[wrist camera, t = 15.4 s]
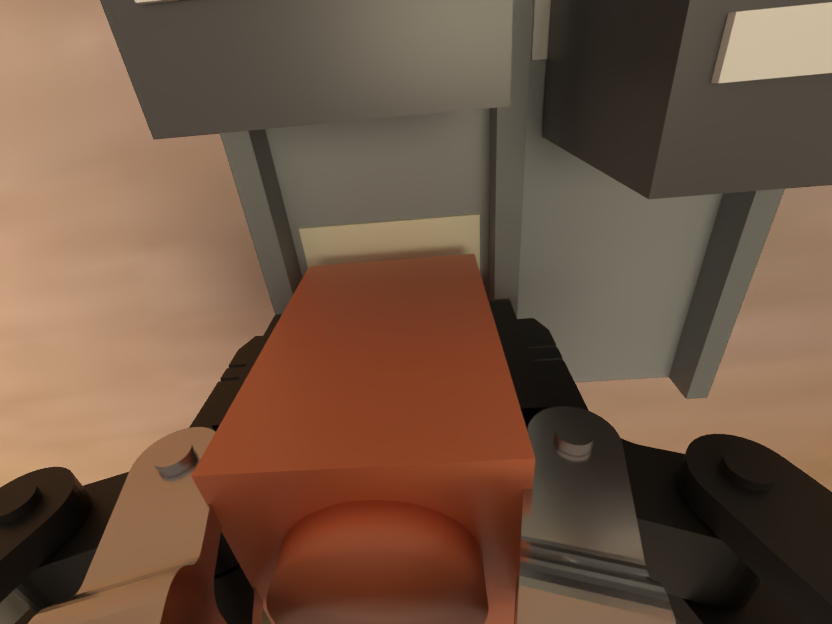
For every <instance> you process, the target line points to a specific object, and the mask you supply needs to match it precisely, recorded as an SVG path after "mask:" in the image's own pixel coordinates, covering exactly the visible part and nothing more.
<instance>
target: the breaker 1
mask: <svg viewBox="0 0 832 624" xmlns="http://www.w3.org/2000/svg"><path fill="white" fill-rule="evenodd" d="M100 1H101V4H102V7H103V9H104V12H105V14H106V17H107V20H108V22H109V25H110V27H111V30H112V33H113V35H114V38H115V40H116V43H117V46H118V48H119V51H120V53H121V56H122V59H123V61H124V64H125V66H126V69H127V72H128V74H129V77H130V79H131V82H132V85H133V87H134V90H135V92H136V95H137V98H138V100H139V103H140V105H141V108H142V111H143V113H144V116H145V118H146V121H147V124H148V126H149V129H150V131H151V134H152V137H153V139H164V138H175V137H186V136H197V135H208V134H218V133H229V132H240V131H251V130H261V129H272V128H283V127H294V126H305V125H315V124H326V123H337V122H348V121H359V120H369V119H380V118H391V117H402V116H412V115H423V114H434V113H445V112H456V111H466V110H477V109H488V108H499V107H509V106H510V89H511V55H512V21H513V0H100Z"/></svg>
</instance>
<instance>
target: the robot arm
mask: <svg viewBox="0 0 832 624" xmlns="http://www.w3.org/2000/svg"><path fill="white" fill-rule="evenodd" d="M488 301H489V304H490V308H491V311H492V314H493V318H494V321H495V325H496V328H497V331H498V335H499V338H500V341H501V345H502V348H503V351H504V355H505V358H506V361H507V365H508V368H509V371H510V375H511V378H512V381H513V385H514V388H515V392H516V395H517V398H518V402H519V405H520V408H521V412H522V415H523V418H524V422H525V425H526V428H527V432H528V435H529V438H530V442H531V445H532V449H533V452H534V455H535V469H534V480H533V489H524V492H523V505H522V519H521V537H520V554H519V571H518V577H517V581H516V594H515V611H514V624H676V622H675V618H674V615H675V616H676V617H677V618H678V620H679V621H680V622H681V624H832V492H831V491H829V490H828V489H827V488H825V487H824V486H823V485H821V484H820V483H818V482H817V481H816V480H814V479H813V478H811V477H810V476H809V475H807V474H806V473H804V472H803V471H802V470H800V469H799V468H797V467H796V466H795V465H793V464H792V463H790V462H789V461H788V460H786V459H785V458H784V457H782V456H780V455H779V454H777V453H776V452H774V451H773V450H771V449H769V448H767V447H765V446H763V445H761V444H759V443H756V442H754V441H751V440H748V439H745V438H742V437H738V436H733V435H726V434H710V435H705V436H701V437H699V438H697V439H695V440H694V441H692V442H691V443H690V445H689V446H688V448H687V450H686V453H685V454H682V453H677V452H672V451H667V450H662V449H657V448H652V447H646V446H642V445H638V444H634V443H631V442H629V441H626V440H624V439H621V438H620V437H619V435H618V433H617V432H616V430H615V429H614V428H613V427H612V426H611V425H610V424H609V423H608V422H607V421H606V420H604V419H603V418H601V417H600V416H598V415H596V414H594V413H592V412H590V411H589V410H588V408H587V406H586V404H585V402H584V400H583V398H582V396H581V394H580V392H579V390H578V388H577V386H576V384H575V382H574V380H573V378H572V376H571V374H570V372H569V370H568V368H567V365H566V363H565V361H563V357H562V355H561V353H560V351H559V349H558V348H557V347H556V343H555V341H554V339H553V337H552V335H551V333H550V331H549V329H547V328H546V327H545V326H543V325H542V324H541V323H540V322H538V321H537V320H536V319H534V318H525V319H517V317H516V315H515V312H514V310H513V307H512V304H511V302H510V300H509V299H508V298H507V299H492V300H488ZM281 315H282V314H277V315H275V317H274V318H273V320H272V321H271V323H270V325H269V327H268V328H267V330H266V332H265V334H264V335H263V336H255V337H254V338H253V339H251V340H250V341H249V342H248V343H247V344H245V345H244V346H243V347H242V348H240V349H239V350H238V352H237V353H236V355H235V356H234V358H233V359H232V361H231V363H230V364H229V368H227V369H226V371H225V372H224V374H223V375H222V377H221V382H218V383H217V385H216V386H215V388H214V389H213V391H212V393H211V394H210V396H209V397H208V399H207V401H206V402H205V404H204V405H203V407H202V408H201V410H200V412H199V413H198V415H197V416H196V418H195V419H194V421H193V423H192V424H191V426H190V427H189V428H186V429H182V430H179V431H176V432H174V433H171V434H169V435H167V436H165V437H163V438H161V439H160V440H158V441H156V442H155V443H154V444H152V445H151V446H150V447H148V448H147V449H146V450H145V451H144V452H143V453H142V454H141V455H140V456H139V457H138V458H137V460H136V461H135V462H134V464H133V465H132V467H131V469H130V471H129V472H127V473H124V474H120V475H117V476H114V477H110V478H107V479H104V480H100V481H97V482H94V483H91V484H87V485H84V486H82V485H81V483H80V482H79V481H78V480H77V478H76V477H75V476H74V474H73V473H72V472H71V471H70V470H68V469H66V468H63V467H49V468H44V469H40V470H36V471H33V472H30V473H28V474H25V475H23V476H21V477H18V478H17V479H15V480H13V481H11V482H9V483H7V484H6V485H4V486H2V487H1V488H0V602H1V601H3V600H4V599H5V598H6V597H7V596H8V595H9V594H10V593H11V592H12V593H13V594H14V595H15V596H16V597H18V598H19V599H20V600H21V601H22V602H23V603H24V604H26V605H27V606H28V607H29V608H30V609H29V610H28V611H27V612H26V613H25V614H24V615H23V616H22V617H21V618H20V619H19V620H18V621H17V622H16V623H15V624H262V615H263V600H262V598H261V597H260V595H259V593H258V591H257V589H256V587H255V586H251V585H250V583H249V581H248V579H247V577H246V575H245V574H244V572H243V570H242V568H241V566H240V564H239V563H238V561H237V559H236V557H235V555H234V553H233V552H232V550H231V548H230V546H229V544H228V542H227V541H226V539H225V537H224V535H223V533H222V531H221V529H222V525H221V523H220V521H219V519H218V517H217V515H216V514H215V512H214V510H213V508H212V506H211V504H206V502H205V500H204V499H203V497H202V495H201V493H200V491H199V489H198V488H197V486H196V484H195V482H194V480H193V478H192V477H191V475H192V474H193V472H194V470H195V468H196V467H197V465H198V463H199V461H200V459H201V458H202V456H203V454H204V452H205V451H206V449H207V447H208V445H209V443H210V442H211V440H212V438H213V436H214V435H215V433H216V431H217V429H218V427H219V426H220V424H221V422H222V420H223V419H224V417H225V415H226V413H227V411H228V410H229V408H230V406H231V404H232V403H233V401H234V399H235V397H236V395H237V394H238V392H239V390H240V388H241V387H242V385H243V383H244V381H245V379H246V378H247V376H248V374H249V372H250V371H251V369H252V367H253V365H254V363H255V362H256V360H257V358H258V356H259V355H260V353H261V351H262V349H263V347H264V346H265V344H266V342H267V340H268V339H269V337H270V335H271V333H272V331H273V330H274V328H275V326H276V324H277V323H278V321H279V319H280V317H281ZM673 613H674V614H673Z"/></svg>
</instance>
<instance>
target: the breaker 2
mask: <svg viewBox="0 0 832 624" xmlns="http://www.w3.org/2000/svg"><path fill="white" fill-rule="evenodd" d="M542 137H543V138H545V139H547V140H548V141H550V142H552V143H553V144H555V145H557V146H559V147H560V148H562V149H564V150H565V151H567V152H569V153H570V154H572V155H574V156H576V157H577V158H579V159H581V160H582V161H584V162H586V163H587V164H589V165H591V166H593V167H594V168H596V169H598V170H599V171H601V172H603V173H605V174H606V175H608V176H610V177H611V178H613V179H615V180H616V181H618V182H620V183H622V184H623V185H625V186H627V187H628V188H630V189H632V190H633V191H635V192H637V193H639V194H640V195H642V196H644V197H645V198H647V199H661V198H673V197H686V196H698V195H710V194H723V193H735V192H748V191H760V190H773V189H785V188H797V187H810V186H822V185H832V0H552V3H551V18H550V32H549V47H548V62H547V76H546V91H545V106H544V120H543V135H542Z"/></svg>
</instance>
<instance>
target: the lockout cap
mask: <svg viewBox="0 0 832 624" xmlns="http://www.w3.org/2000/svg"><path fill="white" fill-rule="evenodd" d="M534 469H535V455H534V452H533V449H532V445H531V442H530V438H529V435H528V432H527V428H526V425H525V422H524V418H523V415H522V412H521V408H520V405H519V402H518V398H517V395H516V392H515V388H514V385H513V381H512V378H511V375H510V371H509V368H508V365H507V361H506V358H505V355H504V351H503V348H502V345H501V341H500V338H499V335H498V331H497V328H496V325H495V321H494V318H493V314H492V311H491V308H490V304H489V301H488V298H487V294H486V291H485V288H484V284H483V281H482V278H481V274H480V271H479V268H478V264H477V261H476V258H475V254H464V255H451V256H437V257H424V258H411V259H398V260H384V261H371V262H358V263H344V264H331V265H318V266H309V267H308V269H307V271H306V273H305V275H304V276H303V278H302V280H301V282H300V283H299V285H298V287H297V289H296V291H295V292H294V294H293V296H292V298H291V299H290V301H289V303H288V305H287V307H286V308H285V310H284V312H283V314H282V315H281V317H280V319H279V321H278V323H277V324H276V326H275V328H274V330H273V331H272V333H271V335H270V337H269V339H268V340H267V342H266V344H265V346H264V347H263V349H262V351H261V353H260V355H259V356H258V358H257V360H256V362H255V363H254V365H253V367H252V369H251V371H250V372H249V374H248V376H247V378H246V379H245V381H244V383H243V385H242V387H241V388H240V390H239V392H238V394H237V395H236V397H235V399H234V401H233V403H232V404H231V406H230V408H229V410H228V411H227V413H226V415H225V417H224V419H223V420H222V422H221V424H220V426H219V427H218V429H217V431H216V433H215V435H214V436H213V438H212V440H211V442H210V443H209V445H208V447H207V449H206V451H205V452H204V454H203V456H202V458H201V459H200V461H199V463H198V465H197V467H196V468H195V470H194V472H193V474H192V475H191V477H192V478H193V480H194V482H195V484H196V486H197V488H198V489H199V491H200V493H201V495H202V497H203V499H204V500H205V502H206V504H211V506H212V508H213V510H214V512H215V514H216V515H217V517H218V519H219V521H220V523H221V525H222V529H221V531H222V533H223V535H224V537H225V539H226V541H227V542H228V544H229V546H230V548H231V550H232V552H233V553H234V555H235V557H236V559H237V561H238V563H239V564H240V566H241V568H242V570H243V572H244V574H245V575H246V577H247V579H248V581H249V583H250V585H251V586H255V587H256V589H257V591H258V593H259V595H260V597H261V598H262V600H263V608H264V610H265V612H266V614H267V616H268V618H269V619H270V621H271V623H272V624H514V611H515V594H516V581H517V577H518V571H519V554H520V537H521V519H522V505H523V492H524V489H533V480H534Z"/></svg>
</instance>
